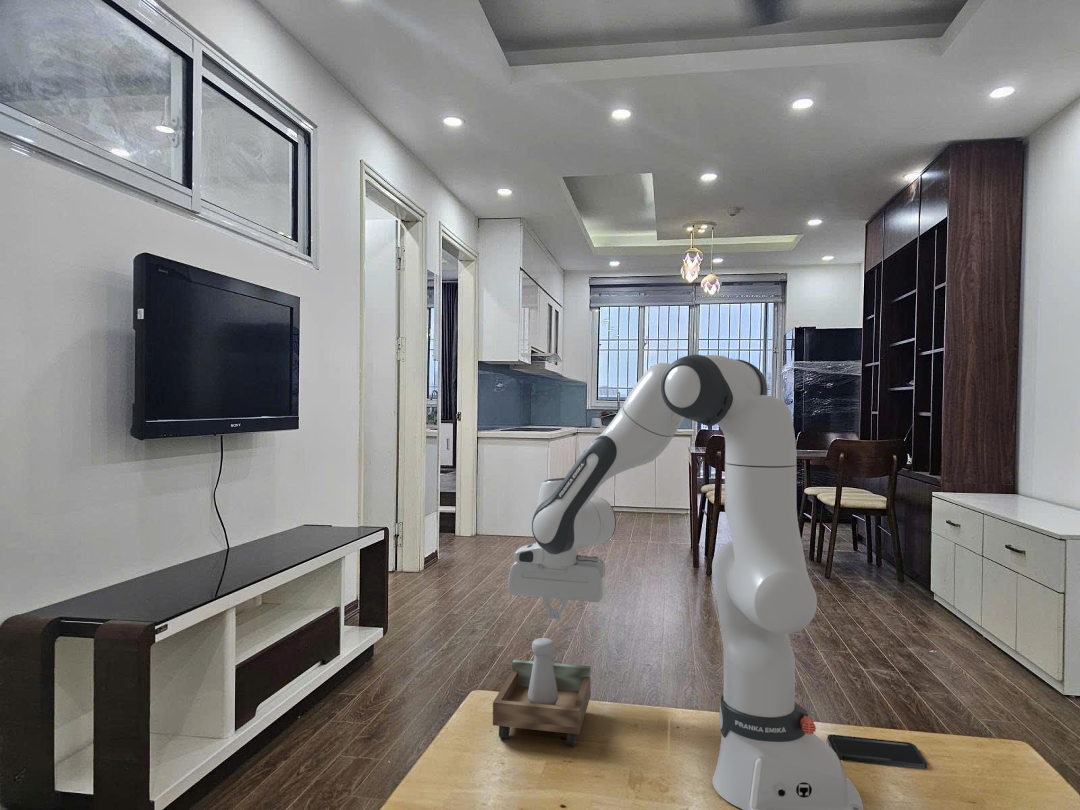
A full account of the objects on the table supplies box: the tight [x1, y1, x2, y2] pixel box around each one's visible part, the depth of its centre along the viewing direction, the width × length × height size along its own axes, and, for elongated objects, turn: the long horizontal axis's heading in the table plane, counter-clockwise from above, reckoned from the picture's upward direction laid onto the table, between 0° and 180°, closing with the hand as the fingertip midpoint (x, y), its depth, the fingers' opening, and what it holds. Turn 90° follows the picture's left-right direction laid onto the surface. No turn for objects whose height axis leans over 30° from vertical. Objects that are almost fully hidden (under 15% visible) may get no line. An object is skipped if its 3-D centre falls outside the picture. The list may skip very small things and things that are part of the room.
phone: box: [826, 734, 928, 770], centre depth 120 cm, size 8×1×15 cm
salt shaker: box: [528, 637, 558, 705], centre depth 127 cm, size 6×6×13 cm
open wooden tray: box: [492, 659, 592, 747], centre depth 129 cm, size 16×16×9 cm
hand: (554, 618), depth 141 cm, fingers closed
